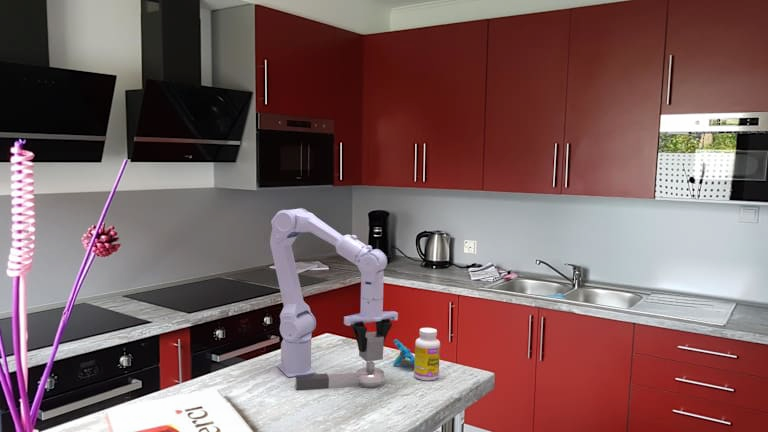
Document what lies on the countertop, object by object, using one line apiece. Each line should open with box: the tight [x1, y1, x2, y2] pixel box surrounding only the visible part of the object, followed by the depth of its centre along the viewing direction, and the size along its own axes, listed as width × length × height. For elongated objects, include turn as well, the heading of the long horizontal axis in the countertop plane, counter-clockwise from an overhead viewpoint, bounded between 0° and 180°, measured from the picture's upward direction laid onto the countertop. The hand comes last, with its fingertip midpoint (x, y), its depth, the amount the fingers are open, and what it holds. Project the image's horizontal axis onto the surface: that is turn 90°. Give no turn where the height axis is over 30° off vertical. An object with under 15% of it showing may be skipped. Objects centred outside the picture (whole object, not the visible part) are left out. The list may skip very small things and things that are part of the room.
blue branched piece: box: [392, 338, 415, 367], centre depth 165 cm, size 11×6×10 cm
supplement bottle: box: [413, 327, 441, 381], centre depth 156 cm, size 7×7×13 cm
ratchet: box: [295, 361, 385, 391], centre depth 148 cm, size 10×22×6 cm, turn 118°
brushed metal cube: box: [358, 331, 385, 362], centre depth 149 cm, size 5×5×6 cm
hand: (370, 349), depth 150 cm, fingers closed on brushed metal cube, 5 cm apart
